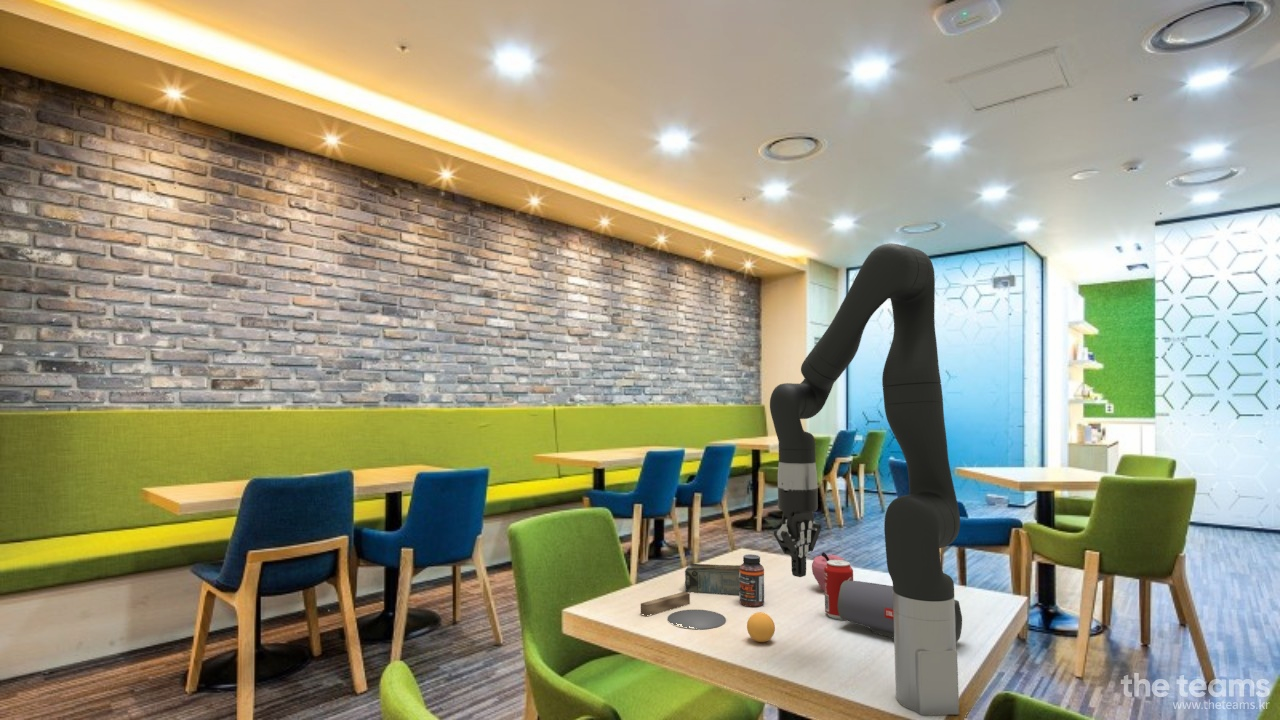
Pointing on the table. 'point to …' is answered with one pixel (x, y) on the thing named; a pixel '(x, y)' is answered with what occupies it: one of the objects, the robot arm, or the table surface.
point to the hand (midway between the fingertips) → (799, 575)
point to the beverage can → (835, 584)
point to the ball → (760, 627)
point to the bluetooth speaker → (875, 607)
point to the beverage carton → (712, 579)
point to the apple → (822, 567)
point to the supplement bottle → (751, 581)
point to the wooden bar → (665, 603)
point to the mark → (697, 619)
